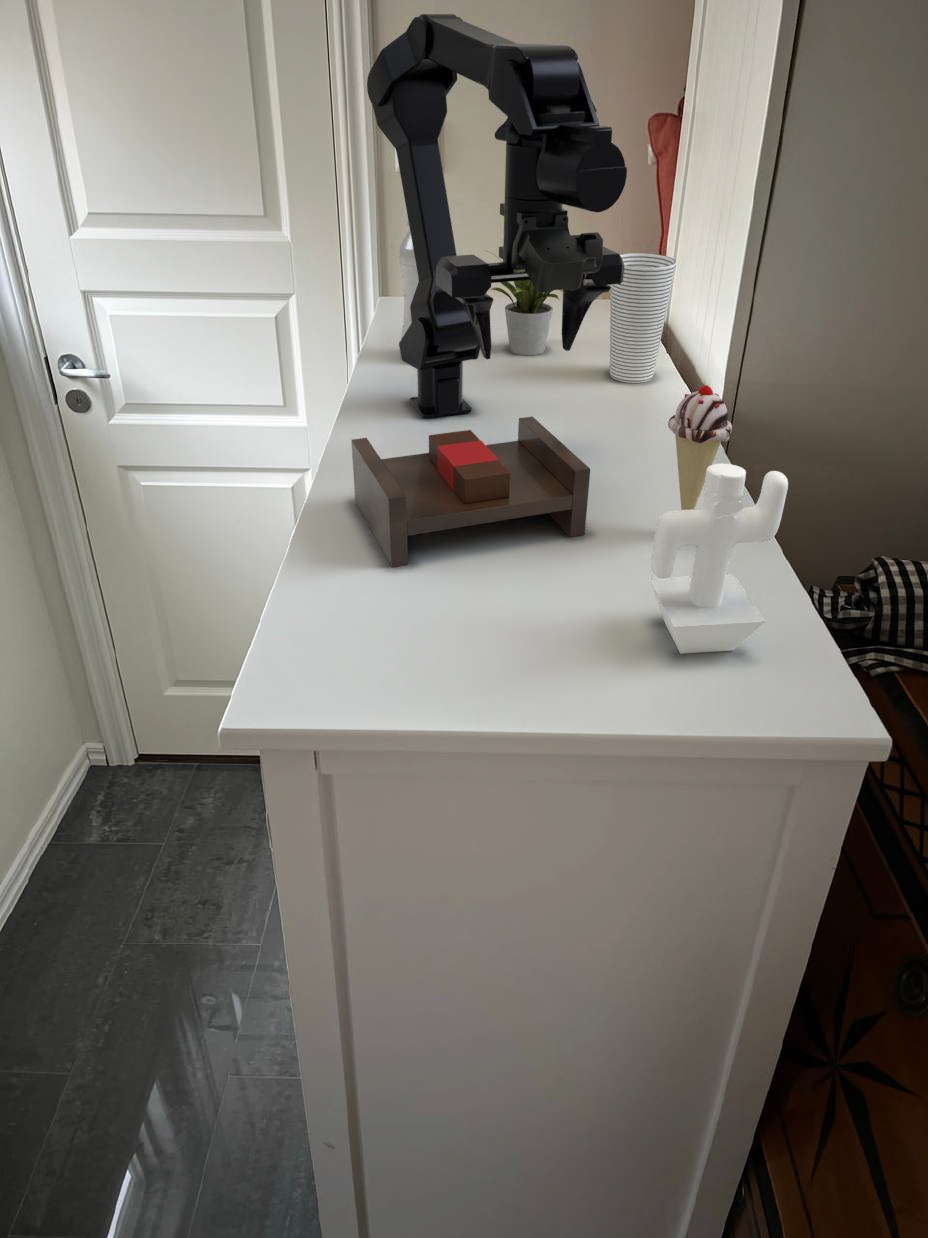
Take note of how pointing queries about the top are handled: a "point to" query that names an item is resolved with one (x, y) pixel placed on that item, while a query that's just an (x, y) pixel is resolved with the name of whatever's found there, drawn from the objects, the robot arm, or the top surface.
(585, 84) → the robot arm
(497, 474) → the chocolate bar
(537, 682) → the top surface
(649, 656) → the top surface
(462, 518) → the shelf
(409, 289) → the plastic bottle
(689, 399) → the ice cream cone
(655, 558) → the figurine
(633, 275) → the cup
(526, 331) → the house plant
